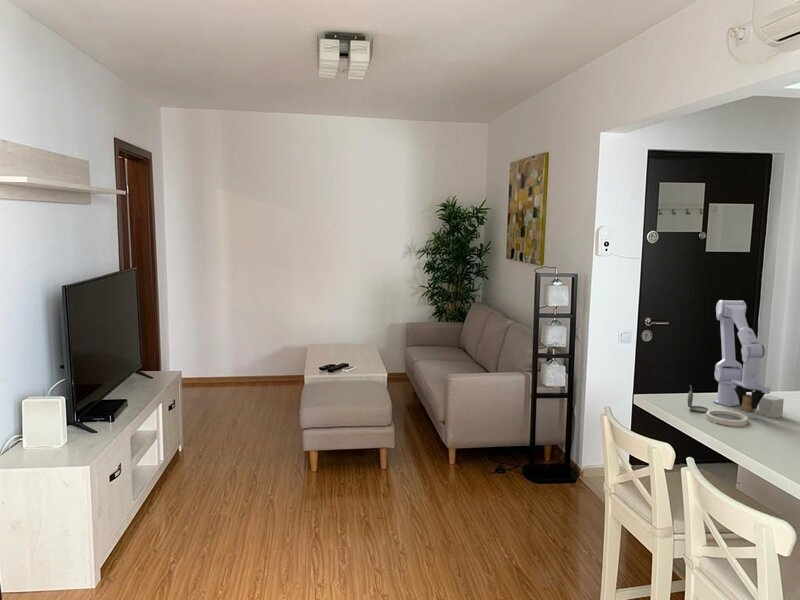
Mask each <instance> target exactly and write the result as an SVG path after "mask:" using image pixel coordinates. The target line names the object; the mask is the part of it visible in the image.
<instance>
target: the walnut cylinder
mask: <svg viewBox="0 0 800 600" xmlns="http://www.w3.org/2000/svg"><path fill="white" fill-rule="evenodd" d="M755 410H756V409H752V394H747V393H746V394H744V395H743V398H742V406H741V411H742V412H744V413H745V412H746V413H755Z"/></svg>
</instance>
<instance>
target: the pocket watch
mask: <svg viewBox="0 0 800 600" xmlns="http://www.w3.org/2000/svg"><path fill="white" fill-rule="evenodd" d="M689 389H690V390H689V391H688V395H687V407H689V409H690V410H691V411H693V412H697V413H706V412H707V411H709V408H707V407H705V406H701V405H693V400H694V393H693V388H692V385H691V384H689Z"/></svg>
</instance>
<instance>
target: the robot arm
mask: <svg viewBox="0 0 800 600" xmlns="http://www.w3.org/2000/svg"><path fill="white" fill-rule="evenodd" d="M715 312H716V313H715V314H716V320H717V321H720V325H719V326H720V340H721V344H720V345H721V360H720V361H718V362H716V364H715V366H714V379H715V380H716V382H718V386H717V387H718V389H717V398H716V399H715V400H712V402H713V403H716V404H719V405H722V404H723V405H724V406H727V407H734V406H738V405H739V406H740V407H742V398H743V395H744V394H747V392H748V390H751V392H750V393H751V394H750V395H752V409H755V410H757V409H758V408H759V402H760V400H761V398H762V397H763V396H766V395H770V394H771V388H770V387H766V386H763V385H760V384H759V383H760V373H761V361H762V359H763V358H764V356H765V355H766V351H765V350H766V349H765V345H764V344H763V343H762V342H761V341H759V340H758V339H757V336H756V334H755V332H754V330H753V329H752V328H751V327H749V324H748V322H747V318H746V313H747V303H746V302H745V301H744V300H728V299H727V300H726V299H725V300H724V299H719V300H718V301H717V303H716V306H715ZM734 324H735V326H736V328H737V330H738V332H737V333H736V334H737V337H738V339H739V342H740V344H741V349H740V352H741V360H742V362H743V364H742V363H740V362H739V361H737V360H736V345H735V344H736V343H735V329H734Z"/></svg>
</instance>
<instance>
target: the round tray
mask: <svg viewBox="0 0 800 600" xmlns="http://www.w3.org/2000/svg"><path fill="white" fill-rule="evenodd" d="M705 418H707V419H706V420H707V421H709V420H710V421H709V422H711V421H712V422H711V423H714V422H715V423H714V424H717V423H719V424H718V425H721V424H723V425H722V426H726V425H730V426H729V427H744V426H747V425H748V423H749V418H748V416H747V415H745V414H743V413H740V412H736V411H732V410H726V409H725V410H724V409H710V410H709V409H708V411H707V412H705ZM743 425H744V426H743Z"/></svg>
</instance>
